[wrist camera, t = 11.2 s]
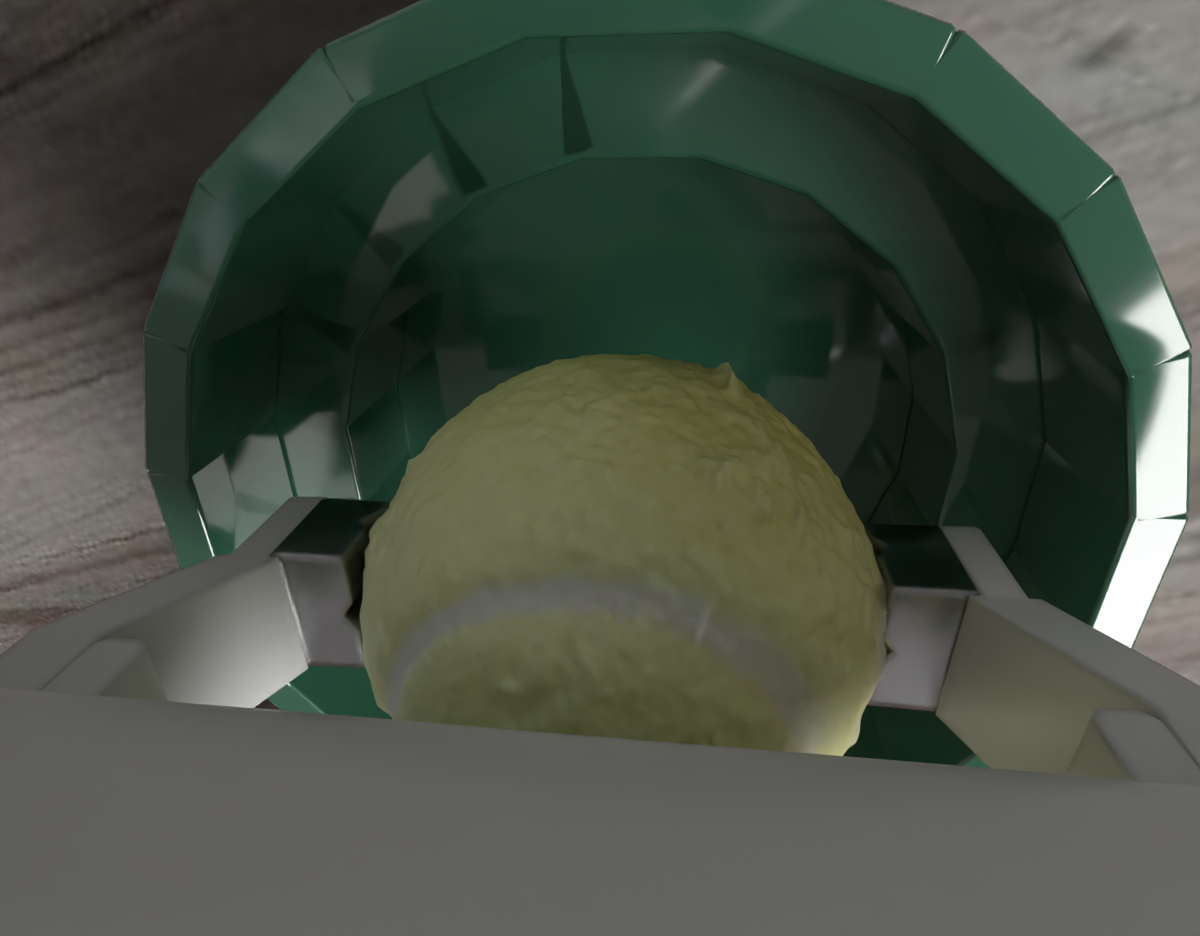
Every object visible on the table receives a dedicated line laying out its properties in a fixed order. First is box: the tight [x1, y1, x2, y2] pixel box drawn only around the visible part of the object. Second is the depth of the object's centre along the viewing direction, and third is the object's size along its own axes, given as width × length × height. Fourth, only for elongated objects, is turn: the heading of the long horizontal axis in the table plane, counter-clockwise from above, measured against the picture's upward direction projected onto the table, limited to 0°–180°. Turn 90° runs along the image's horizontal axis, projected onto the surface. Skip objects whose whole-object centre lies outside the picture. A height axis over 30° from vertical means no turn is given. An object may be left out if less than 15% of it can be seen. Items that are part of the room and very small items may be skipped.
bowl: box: [143, 0, 1192, 768], centre depth 13 cm, size 14×14×6 cm
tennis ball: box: [360, 354, 889, 756], centre depth 9 cm, size 6×7×7 cm
